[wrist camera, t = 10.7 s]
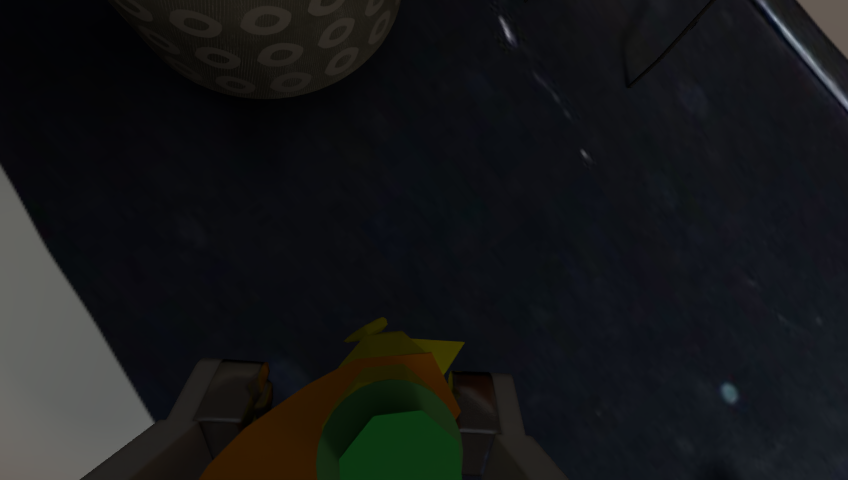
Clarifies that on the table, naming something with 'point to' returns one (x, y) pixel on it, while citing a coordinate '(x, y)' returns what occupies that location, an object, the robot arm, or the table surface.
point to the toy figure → (359, 419)
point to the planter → (262, 40)
